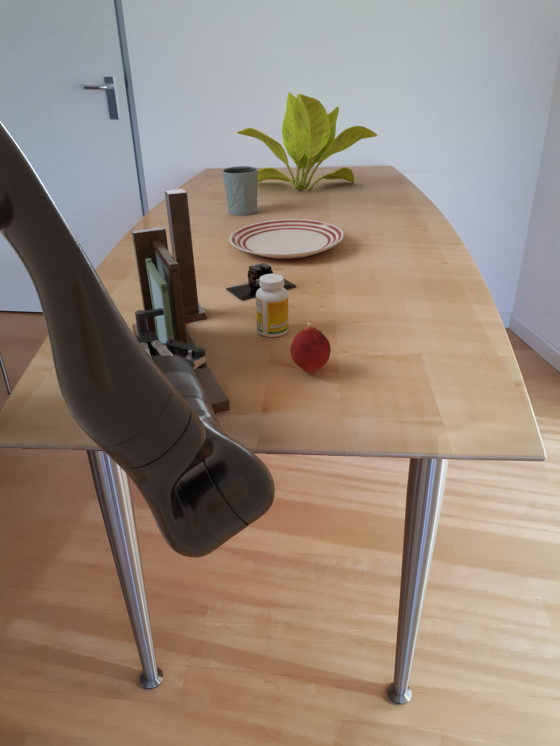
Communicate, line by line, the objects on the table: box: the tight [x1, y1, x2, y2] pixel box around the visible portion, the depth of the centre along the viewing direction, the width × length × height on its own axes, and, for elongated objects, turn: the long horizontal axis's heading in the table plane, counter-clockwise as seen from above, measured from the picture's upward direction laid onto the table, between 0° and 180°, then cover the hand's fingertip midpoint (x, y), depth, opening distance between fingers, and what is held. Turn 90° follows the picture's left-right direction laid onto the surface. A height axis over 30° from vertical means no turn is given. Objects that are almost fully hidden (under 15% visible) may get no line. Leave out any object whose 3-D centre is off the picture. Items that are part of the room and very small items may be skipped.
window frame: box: [130, 226, 231, 414], centre depth 79 cm, size 8×29×18 cm, turn 22°
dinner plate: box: [229, 218, 345, 260], centre depth 131 cm, size 28×27×3 cm
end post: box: [164, 188, 207, 324], centre depth 93 cm, size 5×5×22 cm
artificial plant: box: [236, 91, 378, 192], centre depth 181 cm, size 42×43×30 cm
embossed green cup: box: [221, 165, 259, 217], centre depth 158 cm, size 10×10×12 cm
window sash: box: [134, 258, 174, 343], centre depth 78 cm, size 4×11×14 cm, turn 22°
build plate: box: [225, 262, 297, 301], centre depth 109 cm, size 12×7×5 cm, turn 121°
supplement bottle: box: [255, 273, 289, 338], centre depth 91 cm, size 5×5×10 cm
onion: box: [289, 322, 332, 374], centre depth 79 cm, size 6×6×8 cm
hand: (144, 337), depth 74 cm, fingers closed
